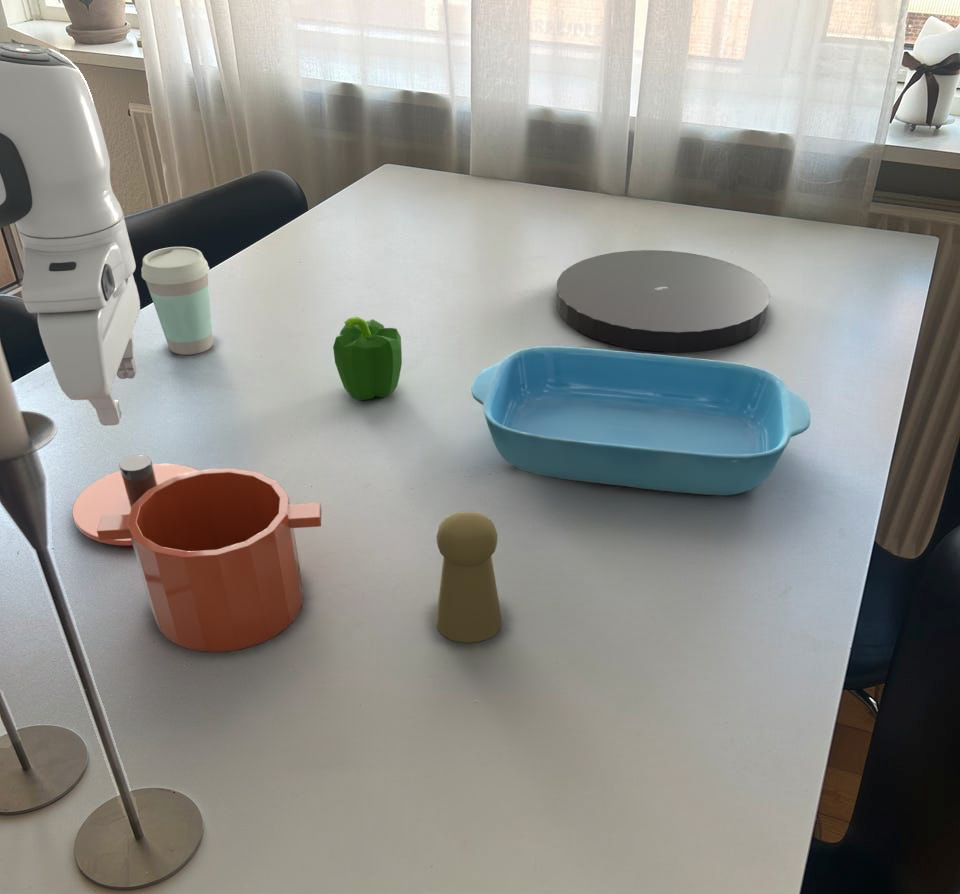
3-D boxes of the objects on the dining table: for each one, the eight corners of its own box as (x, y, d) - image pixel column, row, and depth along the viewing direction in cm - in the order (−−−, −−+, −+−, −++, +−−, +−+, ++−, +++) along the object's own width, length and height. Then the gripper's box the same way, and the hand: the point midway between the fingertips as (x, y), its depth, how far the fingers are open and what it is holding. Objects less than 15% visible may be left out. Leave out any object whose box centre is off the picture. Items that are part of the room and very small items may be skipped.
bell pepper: (394, 372, 129) (389, 296, 122) (411, 400, 123) (407, 322, 117) (330, 382, 127) (322, 305, 121) (345, 411, 121) (337, 333, 115)
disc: (659, 254, 160) (661, 234, 158) (810, 314, 142) (814, 293, 140) (513, 300, 146) (513, 280, 144) (660, 374, 128) (663, 352, 126)
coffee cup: (208, 327, 140) (191, 240, 132) (233, 349, 135) (217, 259, 127) (149, 342, 136) (128, 253, 128) (172, 365, 131) (152, 274, 123)
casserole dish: (794, 417, 119) (806, 361, 115) (802, 521, 103) (817, 461, 98) (491, 391, 125) (491, 336, 120) (453, 486, 108) (452, 427, 104)
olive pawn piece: (514, 615, 92) (516, 515, 85) (478, 651, 88) (476, 550, 81) (460, 592, 94) (457, 493, 87) (422, 627, 91) (416, 527, 83)
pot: (331, 644, 89) (317, 548, 82) (113, 659, 88) (81, 563, 81) (332, 554, 99) (320, 462, 92) (137, 567, 98) (110, 474, 91)
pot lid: (211, 545, 100) (200, 497, 97) (61, 555, 99) (44, 507, 96) (224, 468, 111) (215, 423, 108) (89, 476, 110) (75, 430, 107)
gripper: (68, 216, 95) (106, 352, 105) (15, 302, 80) (65, 453, 89) (135, 213, 96) (167, 349, 105) (95, 298, 81) (137, 448, 90)
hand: (120, 397), depth 97 cm, fingers open, 8 cm apart
